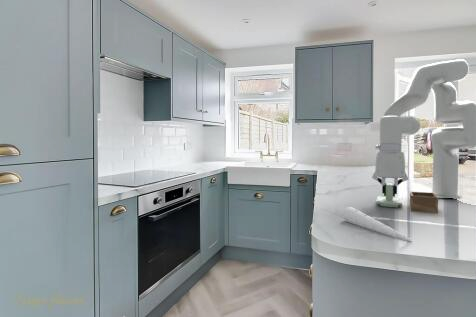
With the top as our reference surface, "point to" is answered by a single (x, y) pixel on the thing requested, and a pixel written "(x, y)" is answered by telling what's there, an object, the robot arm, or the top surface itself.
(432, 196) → the box
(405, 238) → the unicorn horn
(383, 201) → the mint green stepped block
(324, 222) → the top surface
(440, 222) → the top surface
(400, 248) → the top surface
